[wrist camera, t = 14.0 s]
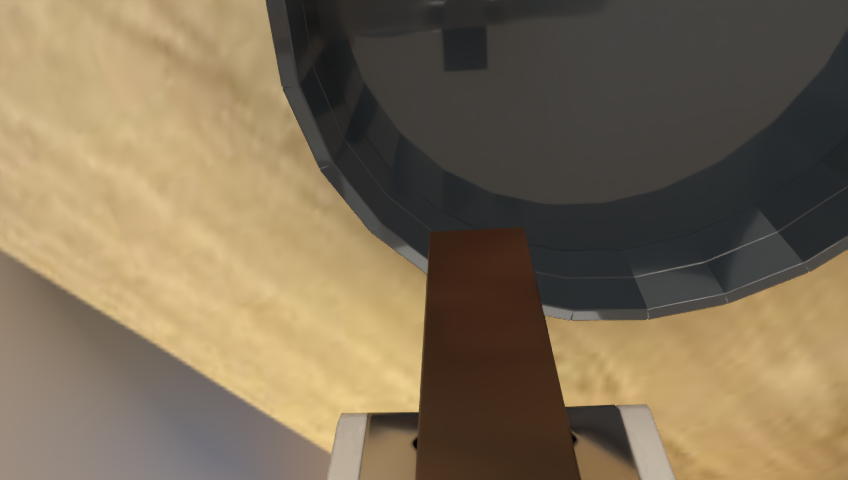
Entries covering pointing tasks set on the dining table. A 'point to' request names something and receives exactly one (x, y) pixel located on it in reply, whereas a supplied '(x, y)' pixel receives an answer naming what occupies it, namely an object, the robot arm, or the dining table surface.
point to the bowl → (586, 136)
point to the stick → (488, 366)
